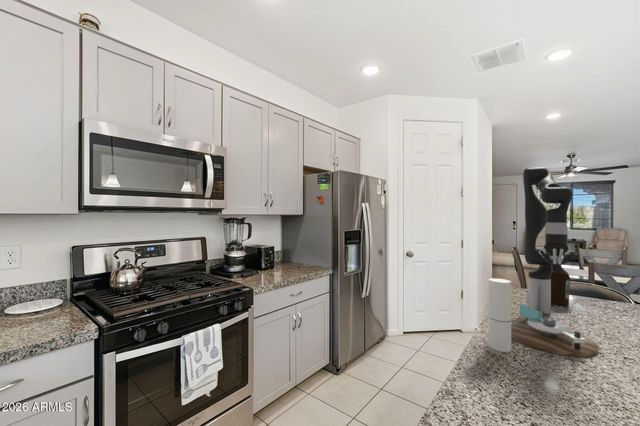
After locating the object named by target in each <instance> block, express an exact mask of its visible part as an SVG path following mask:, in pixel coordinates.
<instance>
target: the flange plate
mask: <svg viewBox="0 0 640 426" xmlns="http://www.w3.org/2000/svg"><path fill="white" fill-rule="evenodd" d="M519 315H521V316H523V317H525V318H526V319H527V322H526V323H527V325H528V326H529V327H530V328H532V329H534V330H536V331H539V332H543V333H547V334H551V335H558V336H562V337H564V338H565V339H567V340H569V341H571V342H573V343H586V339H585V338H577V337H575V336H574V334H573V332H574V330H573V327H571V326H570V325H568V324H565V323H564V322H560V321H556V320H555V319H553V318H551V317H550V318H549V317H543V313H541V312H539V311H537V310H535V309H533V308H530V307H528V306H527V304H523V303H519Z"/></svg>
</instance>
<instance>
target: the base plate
mask: <svg viewBox="0 0 640 426" xmlns="http://www.w3.org/2000/svg"><path fill="white" fill-rule="evenodd" d="M573 334H574V336H575V337H577V338H585V339H586V343H573V342H571V341H569V340H567V339H565V338H564V337H562V336H558V335H551V334H547V333H543V332H539V331H536V330H534V329H532V328H530V327H529V326H528V325H527V322H517V323H511V340H512V339H513V340H514V341H515V342H517V343H520V344H522V345H524V346H526V347H528V348H532V349H534V350H537V351H541V352H544V353H549V354H553V355H556V356H557V355H558V356H564V357H572V358H590V357H594V356H597V355H598V353H599V345H598V344H597V343H596V342H595V341H594V340H592V339H590V338H588V337H586V336H585V335H583V334H581V332H580V331H576V330H575V331H574V330H573Z"/></svg>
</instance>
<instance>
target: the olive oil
mask: <svg viewBox="0 0 640 426" xmlns="http://www.w3.org/2000/svg"><path fill="white" fill-rule="evenodd" d="M570 284H571V277H570V274H569V272H567V270H565V269H564V268H563V267H562V266H561V271H560V272H559V273H554V272H553V271H552V274H551V304H552V305H551V306H554V305H557V306H556V307H560V306H568V307H569V306H570V287H571V286H570Z"/></svg>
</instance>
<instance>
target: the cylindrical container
mask: <svg viewBox="0 0 640 426" xmlns="http://www.w3.org/2000/svg"><path fill="white" fill-rule="evenodd" d="M511 324H512V281H511V280H509V279H505V278H493V277H492V278H488V346H489V348H490V349H492V350H495V351H498V352H501V353H502V352H503V353H508V352H509V353H510V352H511V351H512V338H511Z"/></svg>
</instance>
